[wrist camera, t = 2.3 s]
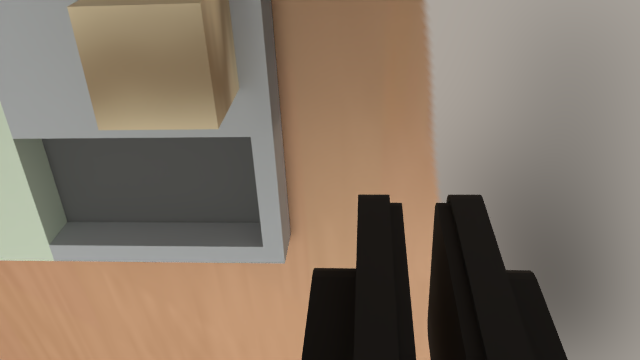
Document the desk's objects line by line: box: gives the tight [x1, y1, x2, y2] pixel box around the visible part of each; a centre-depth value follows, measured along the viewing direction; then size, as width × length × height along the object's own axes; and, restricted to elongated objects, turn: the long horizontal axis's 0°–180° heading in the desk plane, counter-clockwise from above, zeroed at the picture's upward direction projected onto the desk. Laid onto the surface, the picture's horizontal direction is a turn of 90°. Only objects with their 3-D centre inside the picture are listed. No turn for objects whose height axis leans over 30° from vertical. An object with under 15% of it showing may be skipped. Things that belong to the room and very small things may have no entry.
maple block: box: [67, 0, 239, 130], centre depth 22 cm, size 4×4×4 cm
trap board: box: [0, 0, 291, 263], centre depth 24 cm, size 23×18×4 cm
